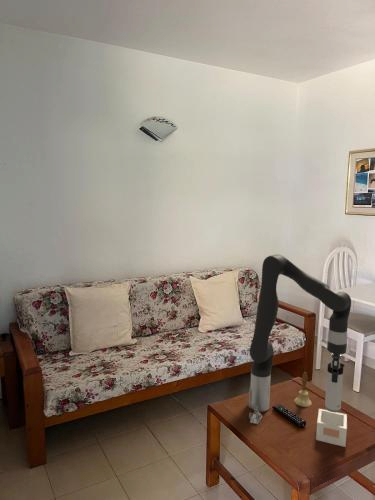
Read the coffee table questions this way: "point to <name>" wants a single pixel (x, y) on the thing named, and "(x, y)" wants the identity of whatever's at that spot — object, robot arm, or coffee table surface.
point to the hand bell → (303, 394)
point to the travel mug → (334, 390)
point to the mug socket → (332, 427)
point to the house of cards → (255, 416)
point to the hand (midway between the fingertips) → (334, 378)
